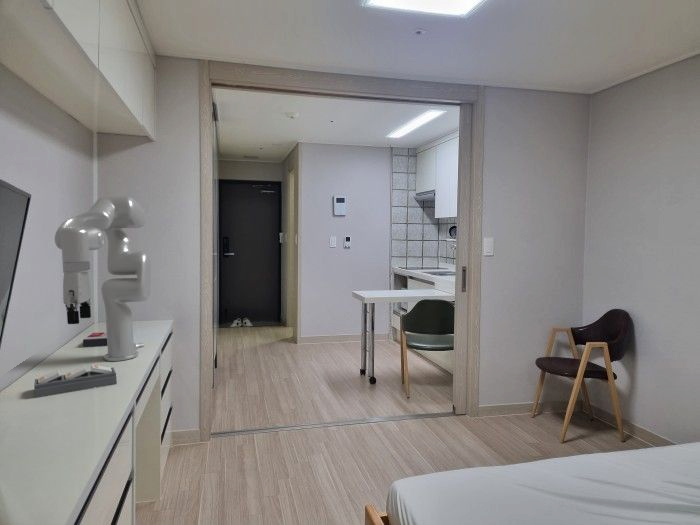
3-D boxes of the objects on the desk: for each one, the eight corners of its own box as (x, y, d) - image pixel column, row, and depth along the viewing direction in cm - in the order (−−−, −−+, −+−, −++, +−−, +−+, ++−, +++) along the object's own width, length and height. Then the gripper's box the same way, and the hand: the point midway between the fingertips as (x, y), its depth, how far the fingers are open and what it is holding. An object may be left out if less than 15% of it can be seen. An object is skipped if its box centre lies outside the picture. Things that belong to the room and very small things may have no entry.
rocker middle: (85, 368, 165) (83, 365, 164) (86, 372, 161) (84, 368, 161) (66, 377, 162) (64, 374, 162) (67, 381, 158) (65, 377, 158)
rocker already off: (109, 371, 169) (110, 367, 169) (110, 374, 165) (112, 370, 165) (90, 367, 166) (91, 364, 166) (91, 371, 162) (93, 367, 162)
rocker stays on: (59, 372, 161) (57, 369, 161) (60, 376, 157) (58, 372, 157) (39, 381, 158) (37, 378, 158) (39, 385, 154) (37, 382, 154)
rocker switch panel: (113, 376, 172) (113, 366, 171) (116, 384, 164) (116, 373, 164) (35, 389, 160) (34, 378, 159) (35, 397, 152) (34, 386, 152)
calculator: (118, 330, 230) (110, 336, 215) (118, 340, 230) (110, 346, 215) (92, 332, 227) (82, 338, 213) (92, 341, 227) (82, 348, 213)
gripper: (74, 265, 163) (77, 316, 165) (51, 270, 146) (55, 326, 148) (98, 264, 165) (101, 315, 166) (78, 269, 147) (81, 325, 149)
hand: (79, 320), depth 157 cm, fingers open, 9 cm apart
